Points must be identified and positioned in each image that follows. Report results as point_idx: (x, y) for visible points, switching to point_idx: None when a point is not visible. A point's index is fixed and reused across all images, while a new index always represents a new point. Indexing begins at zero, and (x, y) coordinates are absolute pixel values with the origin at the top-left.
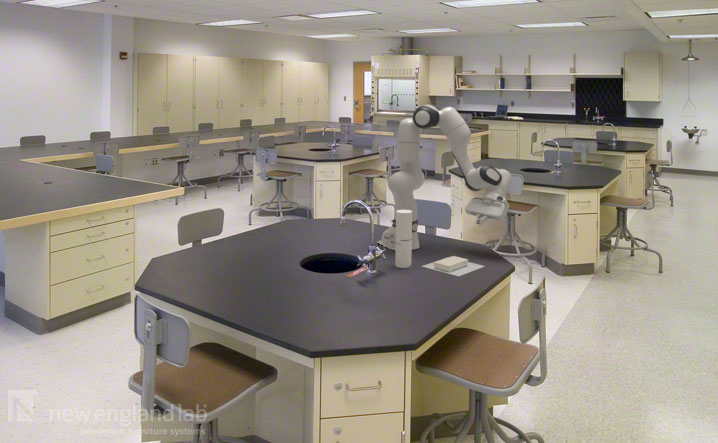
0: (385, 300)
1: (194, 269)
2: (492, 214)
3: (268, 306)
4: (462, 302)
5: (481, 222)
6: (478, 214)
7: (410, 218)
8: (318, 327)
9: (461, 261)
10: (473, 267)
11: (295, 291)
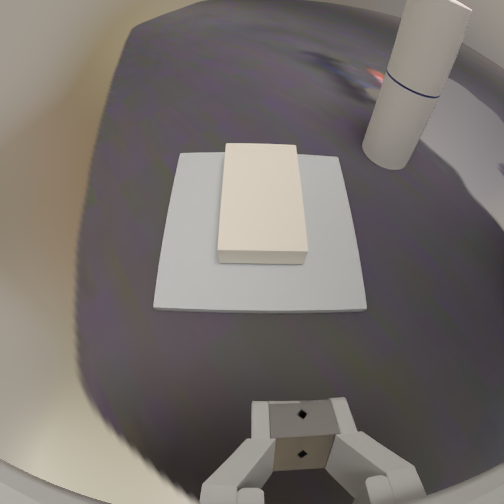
0: (231, 40)
1: (468, 54)
2: (48, 497)
3: (319, 11)
4: (113, 85)
5: (251, 419)
6: (394, 492)
7: (409, 4)
8: (234, 6)
9: (223, 207)
10: (184, 257)
11: (348, 29)
